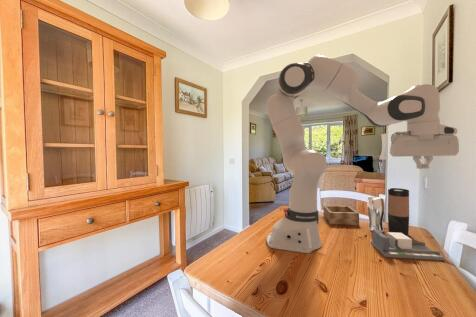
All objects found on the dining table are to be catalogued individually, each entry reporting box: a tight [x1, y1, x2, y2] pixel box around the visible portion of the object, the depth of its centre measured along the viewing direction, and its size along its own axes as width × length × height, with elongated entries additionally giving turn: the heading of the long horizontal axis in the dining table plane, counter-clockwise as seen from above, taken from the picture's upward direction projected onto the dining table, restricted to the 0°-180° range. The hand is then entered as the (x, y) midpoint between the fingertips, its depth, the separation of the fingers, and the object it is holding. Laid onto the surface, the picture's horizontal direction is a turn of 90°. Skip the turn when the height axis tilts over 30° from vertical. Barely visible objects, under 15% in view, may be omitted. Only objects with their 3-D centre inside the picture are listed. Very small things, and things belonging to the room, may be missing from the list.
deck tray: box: [322, 205, 360, 226], centre depth 112 cm, size 14×14×6 cm
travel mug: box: [387, 187, 410, 237], centre depth 92 cm, size 8×8×20 cm
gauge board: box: [370, 239, 445, 261], centre depth 76 cm, size 18×11×2 cm, turn 80°
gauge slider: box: [386, 231, 413, 250], centre depth 75 cm, size 5×8×4 cm, turn 170°
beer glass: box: [366, 196, 386, 233], centre depth 97 cm, size 7×7×15 cm
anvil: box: [372, 230, 389, 252], centre depth 77 cm, size 2×8×5 cm, turn 171°
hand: (422, 168), depth 74 cm, fingers closed
